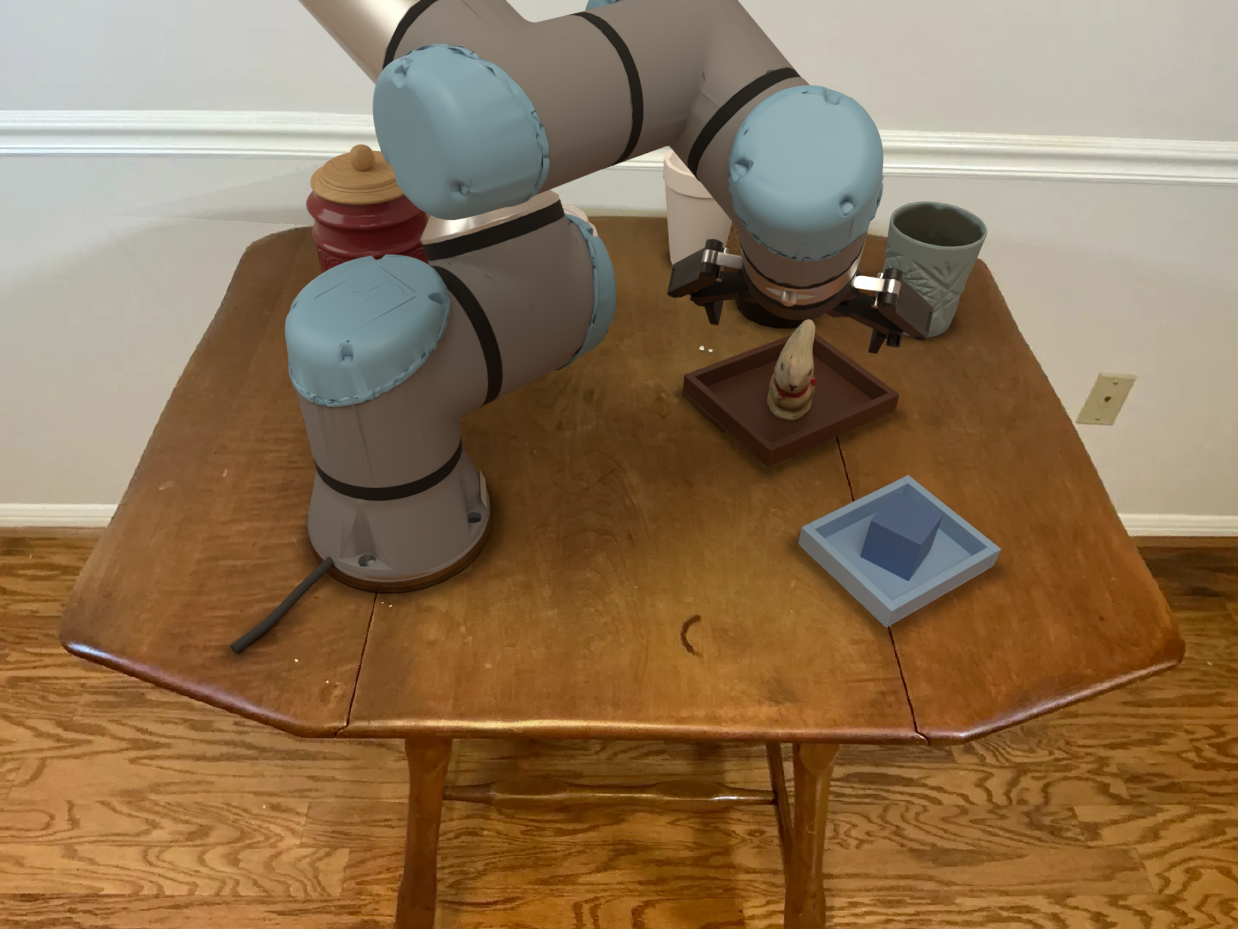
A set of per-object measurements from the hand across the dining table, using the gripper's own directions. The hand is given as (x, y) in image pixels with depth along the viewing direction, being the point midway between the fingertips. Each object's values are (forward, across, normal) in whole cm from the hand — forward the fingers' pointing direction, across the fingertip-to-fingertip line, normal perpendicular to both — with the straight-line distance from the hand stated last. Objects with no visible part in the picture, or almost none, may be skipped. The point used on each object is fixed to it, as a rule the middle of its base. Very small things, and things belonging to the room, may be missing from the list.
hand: (795, 323), depth 81 cm
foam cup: (+34, -14, +13) cm, 39 cm away
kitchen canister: (+20, -47, -1) cm, 52 cm away
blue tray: (+2, +12, -18) cm, 22 cm away
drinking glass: (+30, +12, +10) cm, 34 cm away
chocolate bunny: (+15, +1, -5) cm, 16 cm away
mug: (+29, -2, +8) cm, 30 cm away
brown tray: (+16, 0, -5) cm, 16 cm away
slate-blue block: (+2, +12, -18) cm, 21 cm away
